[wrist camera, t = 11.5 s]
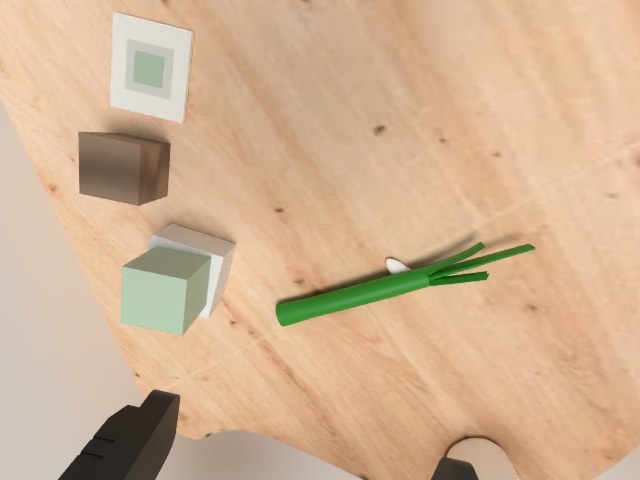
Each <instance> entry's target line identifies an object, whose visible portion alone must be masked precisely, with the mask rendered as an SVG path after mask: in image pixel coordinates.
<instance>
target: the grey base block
mask: <svg viewBox="0 0 640 480" xmlns="http://www.w3.org/2000/svg"><path fill="white" fill-rule="evenodd" d="M156 246H160V247H165V248H169V249H174V250H179V251H184V252H188V253H193V254H198V255H203V256H207V257H211V266H210V275H209V284H208V293H207V302H206V306H205V308H204V309H203V310H202V311H201V313H200V314H199V315H198V316H200V317H203V318H207V319H208V318H209V317H210V316H211V314H212V313H213V311H214V310H215V309H216V307H217V306H218V304H219V303H220V302H221V300H222V297H223V293H224V290H225V286H226V282H227V278H228V274H229V270H230V267H231V263H232V259H233V255H234V251H235V248H236V244H235V243H232V242H229V241H226V240H222V239H219V238H216V237H213V236H210V235H207V234H204V233H201V232H198V231H195V230H191V229H188V228H185V227H182V226H179V225H176V224H171V225H169V226H167V227H165V228H163V229H161V230H159V231H157V232H156V233H154V234H152V236H151V241H150V247H149V250H151V249H153V248H154V247H156Z"/></svg>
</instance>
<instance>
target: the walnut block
mask: <svg viewBox="0 0 640 480" xmlns="http://www.w3.org/2000/svg"><path fill="white" fill-rule="evenodd" d="M170 146H171V144H167V143H162V142H158V141H153V140H148V139H143V138H139V137H134V136H129V135H125V134H120V133H97V132H79V186H80V194H85V195H90V196H94V197H99V198H104V199H109V200H113V201H118V202H123V203H128V204H132V205H137V206H139V205H142V204H145V203H148V202H151V201H154V200H157V199H160V198H163V197H166V196H167V193H168V177H169V161H170Z"/></svg>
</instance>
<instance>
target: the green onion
mask: <svg viewBox="0 0 640 480" xmlns="http://www.w3.org/2000/svg"><path fill="white" fill-rule="evenodd" d="M483 248H485V246H484V245H483V244H482V243H481V242H479V243H478V244H476V245H474V246H473V247H471V248H470V249H468V250H466V251H464V252H462V253H460V254H458V255H455V256H453V257H451V258H448V259H446V260H443V261H441V262H438V263H436V264H432V265H429V266H426V267H422V268H417V269H413V270H411V269H410V268H408V267H406V266H405V265H403V264H402V263H400V262H399V261H397V260H394V259H387V260H386V266H387V268H388V270H389V271H390V273H391V274H392V275H389V276H385V277H382V278H378V279H375V280H371V281H367V282H364V283H360V284H356V285H353V286H349V287H345V288H342V289H338V290H334V291H331V292H327V293H323V294H320V295H316V296H313V297H309V298H305V299H300V300H295V301H290V302H286V303H282V304H278V305H276V315H277V318H278V321H279V323H280V324H281V326H287V325H291V324H295V323H298V322H301V321H304V320H307V319H310V318H314V317H317V316H322V315H326V314H330V313H334V312H337V311H341V310H345V309H349V308H353V307H357V306H361V305H364V304H368V303H372V302H376V301H380V300H384V299H387V298H391V297H395V296H398V295H402V294H405V293H408V292H411V291H415V290H418V289H421V288H425V287H428V286H436V285H444V284H455V283H463V282H471V281H480V280H487V278H488V275H489V274H486V273H487V271H485V272H478V273H470V274H462V275H453V276H447V275H450V274H454V273H457V272H460V271H464V270H467V269H470V268H474V267H477V266H480V265H484V264H487V263H490V262H493V261H496V260H500V259H503V258H507V257H510V256H514V255H517V254H521V253H524V252H528V251H531V250H535V247H534V246H532V245H530V244H526V245H522V246H518V247H515V248H511V249H507V250H504V251H500V252H496V253H493V254H489V255H486V256H482V257H478V258H475V259H471V260H467V261H463V262H460V263H456V262H459V261H461V260H463V259H465V258H468V257H470V256H472V255H474V254H475V253H477V252H478V251H480V250H481V249H483ZM454 263H456V264H454ZM451 264H452V265H451Z"/></svg>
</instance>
